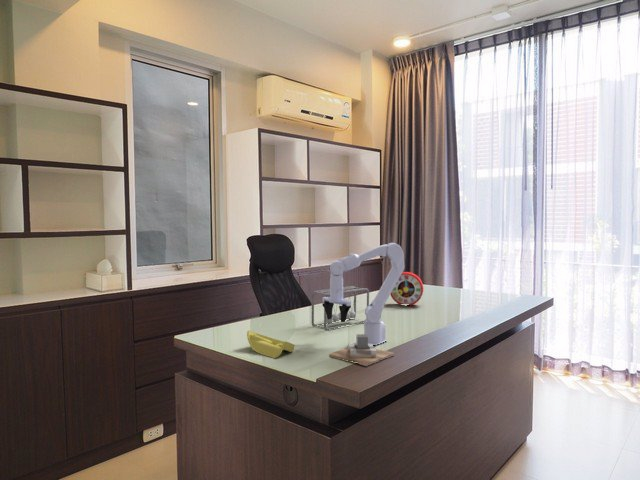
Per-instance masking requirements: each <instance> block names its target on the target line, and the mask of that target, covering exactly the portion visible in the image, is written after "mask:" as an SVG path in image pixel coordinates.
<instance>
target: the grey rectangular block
mask: <svg viewBox="0 0 640 480" xmlns="http://www.w3.org/2000/svg"><path fill="white" fill-rule="evenodd" d="M355 344H356V349H368V336H367V334H364V333H363V334H359V333H357V334H356V343H355Z"/></svg>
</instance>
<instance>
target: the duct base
mask: <svg viewBox="0 0 640 480" xmlns="http://www.w3.org/2000/svg"><path fill="white" fill-rule="evenodd" d="M394 353H395V352H390V351H387V350H382V349H380V348H379V349H378V348H375V346H373V344H368V349H356V343H348V347H345V348H343V349H339V350H336V351H333V352H330V353H329V354H328V356H329V357H330V356H331V358H334V357H335V358H334V359H337V358H339V359H338V360H341V359H344V360H348V361H353V362H361V363H363V362H364V363H365V364H369V363H371V362H374V361H377V360H380V359H382V358H385V357H387V356H390V355H392V354H394ZM394 355H395V354H394ZM344 360H343V361H344ZM348 361H347V362H348ZM366 362H367V363H366Z"/></svg>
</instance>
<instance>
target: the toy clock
mask: <svg viewBox="0 0 640 480" xmlns="http://www.w3.org/2000/svg"><path fill="white" fill-rule="evenodd" d="M423 293H424V284H423V281H422V279H421V278H420V277H419V275H417V274H415V273H413V272H410V271H403V272H402V274H401V276H400V277H399V279H398V281H397V283H396V285H395V286H394V288H393V290H392V292H391V294H390V297H391V299H392V300H393V301H394V302H395V303H396V304H398V305H400V304H409V305H410V306H414V305H415V304H417V303H418V302H419V301H420V299H421V298H422V296H423V295H424V294H423Z"/></svg>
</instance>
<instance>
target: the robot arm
mask: <svg viewBox="0 0 640 480" xmlns="http://www.w3.org/2000/svg"><path fill="white" fill-rule="evenodd" d="M379 256H380V257H388V259H389V261H390V264H391V269H390V270H389V272H388V273H387V276H386V277H385V279H384V281H383V282H382V285H381V287H379V290H378V292H377V294H376V295H375V297H374V299H372V301H371V302H370V303H369V306H367V305H366V307H365V310H364V314H365V317H366V319H364V320H363V321H364V323H363V324H364V327H363V329H364V330H363V331H364V332H363V334H367V336H368V344H373V345H376V346H378V345H377V344H379V345H381V344H380V343H382V344H384V343H386V342H385V341H387V342H388V340H386V330H387V328H386V327H387V326H386V325H385V322H383V321H382V320H381V318H382V312H383V310H384V308H385V305H386V302H387V301H388V299H389V297H391V295H390V294H391V292H392V290H393V288H394V286H395V285H396V283H397V281H398V279H399V277H400V276H401V274H402V273H403V272H404V270H405V268H406V267H405V252H404V251H403V248H402V247H401V245H400V244H398V243H396V242H389V243H387V244H386V243H385V244H382V245H379V246H376V247H374V248H371V249H369V250H367V251H365V252H362V253H360V254H357V253H351V252H350V253H349V254H348V255H347V256H345V257H342V258H341V257H340V258H338V260H334V261H332V262H331V264H330V266H329V270H330V275H329V276H330V277H329V289H330V291H329V293H330V296H327V297H325V296H323V297H322V299H321V300H322V301H321V302H322V307H323V308H324V309H325V311H326V316H327V319H332V315H333V310H334V306H335V305H339V304H340V305H339V306H338V308H339V313H340V314H341V322H340V323H345V322H346V321H345V320H346V316H347V313H348V312H350V310H351V309H352V301H351V300H349V299H348V300H347V299H343V297H344V294H343V287H344V277H343V276H344V275H343V274H344V272H348V271H350V270H353V269H356V268H358V267H360V266H361V263H363V262H365V261H368V260H370V259H373V258H376V257H379ZM324 309H323V310H324ZM383 342H384V343H383Z"/></svg>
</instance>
